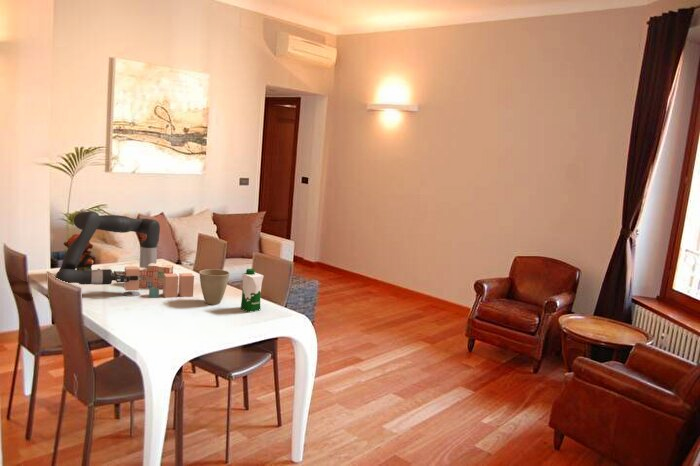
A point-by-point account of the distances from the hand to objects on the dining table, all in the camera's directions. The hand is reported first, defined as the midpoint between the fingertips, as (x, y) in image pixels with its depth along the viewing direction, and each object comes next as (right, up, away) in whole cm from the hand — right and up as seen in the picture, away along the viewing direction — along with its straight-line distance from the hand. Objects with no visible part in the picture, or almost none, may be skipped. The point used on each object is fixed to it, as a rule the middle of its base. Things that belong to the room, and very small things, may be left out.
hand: (136, 276), depth 282 cm
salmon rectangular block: (+16, -10, +4) cm, 19 cm away
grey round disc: (-3, -9, 0) cm, 10 cm away
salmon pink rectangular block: (-3, -6, 0) cm, 7 cm away
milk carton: (+59, -16, -6) cm, 62 cm away
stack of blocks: (+1, -7, +19) cm, 20 cm away
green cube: (+9, -10, 0) cm, 14 cm away
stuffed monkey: (-40, -2, +25) cm, 47 cm away
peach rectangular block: (+23, -10, +8) cm, 26 cm away
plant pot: (+39, -14, -1) cm, 41 cm away
